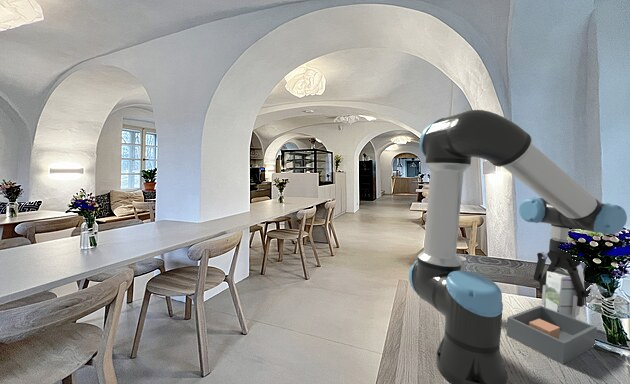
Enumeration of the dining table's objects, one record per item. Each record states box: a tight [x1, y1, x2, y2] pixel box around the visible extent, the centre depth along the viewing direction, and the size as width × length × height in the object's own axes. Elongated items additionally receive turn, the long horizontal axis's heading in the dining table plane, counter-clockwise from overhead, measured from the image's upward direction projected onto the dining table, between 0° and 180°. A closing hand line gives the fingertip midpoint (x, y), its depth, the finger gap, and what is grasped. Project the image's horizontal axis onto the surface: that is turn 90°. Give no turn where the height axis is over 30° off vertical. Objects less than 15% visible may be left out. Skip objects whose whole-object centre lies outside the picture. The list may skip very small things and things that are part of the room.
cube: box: [529, 319, 560, 339], centre depth 77 cm, size 5×5×5 cm
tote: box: [506, 305, 598, 365], centre depth 78 cm, size 18×14×6 cm
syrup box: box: [543, 270, 577, 319], centre depth 87 cm, size 6×6×14 cm
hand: (559, 309), depth 87 cm, fingers closed on syrup box, 7 cm apart
